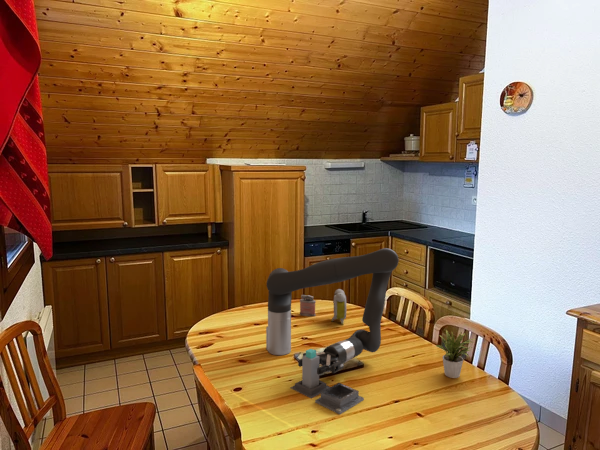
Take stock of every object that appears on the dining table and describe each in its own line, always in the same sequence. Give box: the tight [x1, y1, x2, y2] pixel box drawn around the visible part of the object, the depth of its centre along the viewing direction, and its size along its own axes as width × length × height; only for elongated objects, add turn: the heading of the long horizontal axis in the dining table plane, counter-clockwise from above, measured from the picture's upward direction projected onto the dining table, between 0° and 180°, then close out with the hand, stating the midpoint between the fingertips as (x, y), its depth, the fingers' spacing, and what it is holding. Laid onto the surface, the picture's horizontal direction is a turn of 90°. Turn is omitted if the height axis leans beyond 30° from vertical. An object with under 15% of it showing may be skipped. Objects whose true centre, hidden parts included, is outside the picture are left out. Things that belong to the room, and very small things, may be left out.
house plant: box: [435, 329, 475, 379], centre depth 163 cm, size 14×14×16 cm
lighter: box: [299, 294, 317, 317], centre depth 229 cm, size 8×3×10 cm, turn 71°
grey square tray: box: [289, 379, 331, 400], centre depth 155 cm, size 10×10×2 cm
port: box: [314, 382, 365, 415], centre depth 146 cm, size 10×12×4 cm
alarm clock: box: [330, 288, 347, 326], centre depth 219 cm, size 12×7×15 cm, turn 179°
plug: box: [301, 348, 320, 389], centre depth 154 cm, size 4×4×13 cm
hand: (308, 367), depth 153 cm, fingers open, 8 cm apart
